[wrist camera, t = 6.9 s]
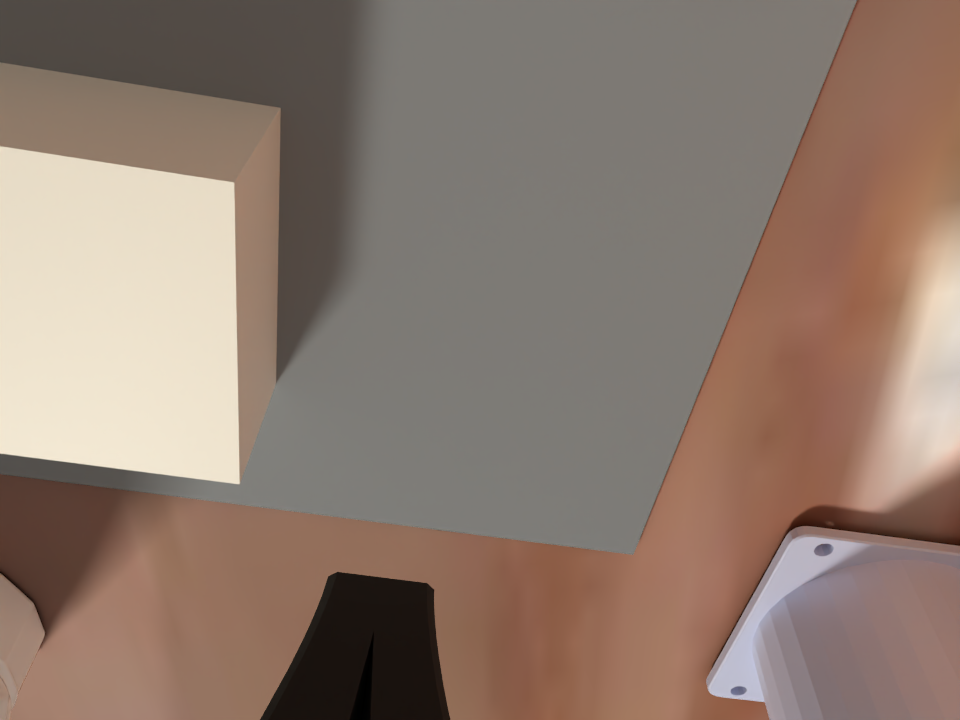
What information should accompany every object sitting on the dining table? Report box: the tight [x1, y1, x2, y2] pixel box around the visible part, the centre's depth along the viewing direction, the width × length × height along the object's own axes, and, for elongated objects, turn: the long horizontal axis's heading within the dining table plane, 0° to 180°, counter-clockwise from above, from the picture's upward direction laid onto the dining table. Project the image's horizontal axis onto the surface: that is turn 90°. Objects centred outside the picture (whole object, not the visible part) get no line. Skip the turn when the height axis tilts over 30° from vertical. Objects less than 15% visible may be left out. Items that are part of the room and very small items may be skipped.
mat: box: [0, 0, 857, 555], centre depth 19 cm, size 20×16×1 cm
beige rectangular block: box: [0, 62, 281, 484], centre depth 17 cm, size 4×7×8 cm
